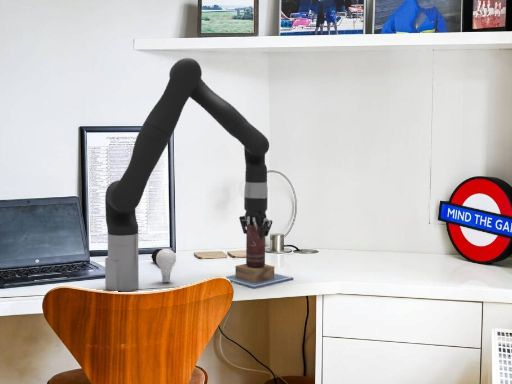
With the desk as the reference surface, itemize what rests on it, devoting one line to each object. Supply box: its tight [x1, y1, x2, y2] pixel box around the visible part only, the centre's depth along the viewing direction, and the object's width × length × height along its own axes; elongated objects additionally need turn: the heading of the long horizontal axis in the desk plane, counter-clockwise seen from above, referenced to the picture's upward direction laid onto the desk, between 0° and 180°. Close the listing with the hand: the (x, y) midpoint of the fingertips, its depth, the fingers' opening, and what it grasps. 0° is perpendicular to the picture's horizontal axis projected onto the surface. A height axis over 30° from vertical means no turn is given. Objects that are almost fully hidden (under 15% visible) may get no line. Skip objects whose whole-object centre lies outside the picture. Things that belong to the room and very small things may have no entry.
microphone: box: [150, 248, 163, 264], centre depth 236 cm, size 6×6×20 cm
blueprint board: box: [224, 272, 294, 290], centre depth 220 cm, size 18×16×1 cm
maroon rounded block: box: [245, 224, 266, 268], centre depth 218 cm, size 6×6×14 cm
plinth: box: [234, 263, 275, 283], centre depth 219 cm, size 9×9×4 cm
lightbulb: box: [156, 248, 177, 284], centre depth 214 cm, size 6×6×11 cm
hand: (255, 248), depth 218 cm, fingers closed
